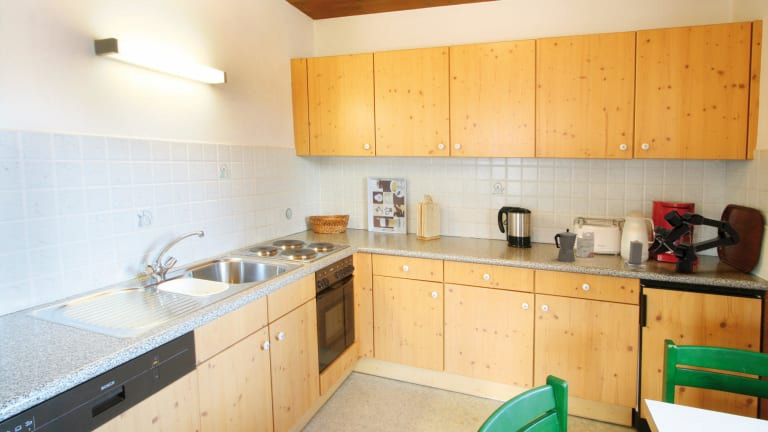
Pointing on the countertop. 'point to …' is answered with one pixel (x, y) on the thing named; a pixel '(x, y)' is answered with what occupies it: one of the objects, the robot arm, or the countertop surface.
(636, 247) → the block
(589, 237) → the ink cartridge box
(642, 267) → the rail dock
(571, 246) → the coffeepot
